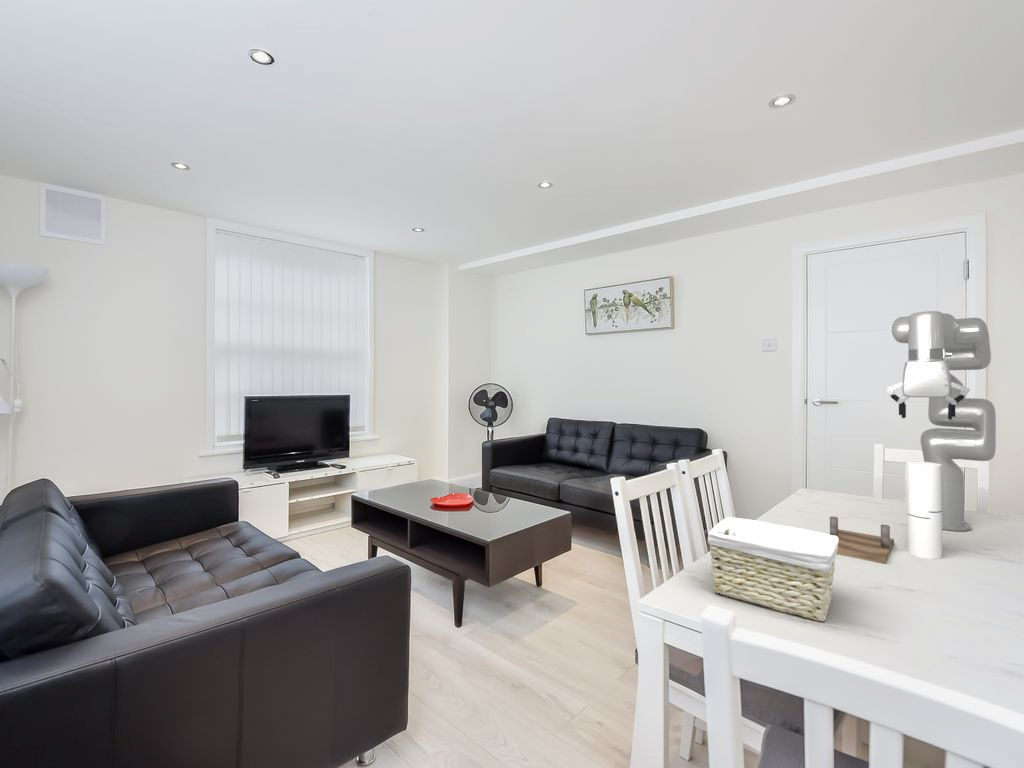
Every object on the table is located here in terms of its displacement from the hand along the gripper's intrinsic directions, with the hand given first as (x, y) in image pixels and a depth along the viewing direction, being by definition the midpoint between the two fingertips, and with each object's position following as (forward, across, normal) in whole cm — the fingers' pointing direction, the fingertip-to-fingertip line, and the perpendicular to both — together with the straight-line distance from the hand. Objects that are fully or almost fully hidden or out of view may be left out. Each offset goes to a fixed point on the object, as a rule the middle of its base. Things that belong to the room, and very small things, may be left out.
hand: (926, 418), depth 131 cm
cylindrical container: (+38, 0, +1) cm, 38 cm away
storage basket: (+39, +24, +56) cm, 72 cm away
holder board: (+37, +14, +6) cm, 41 cm away
